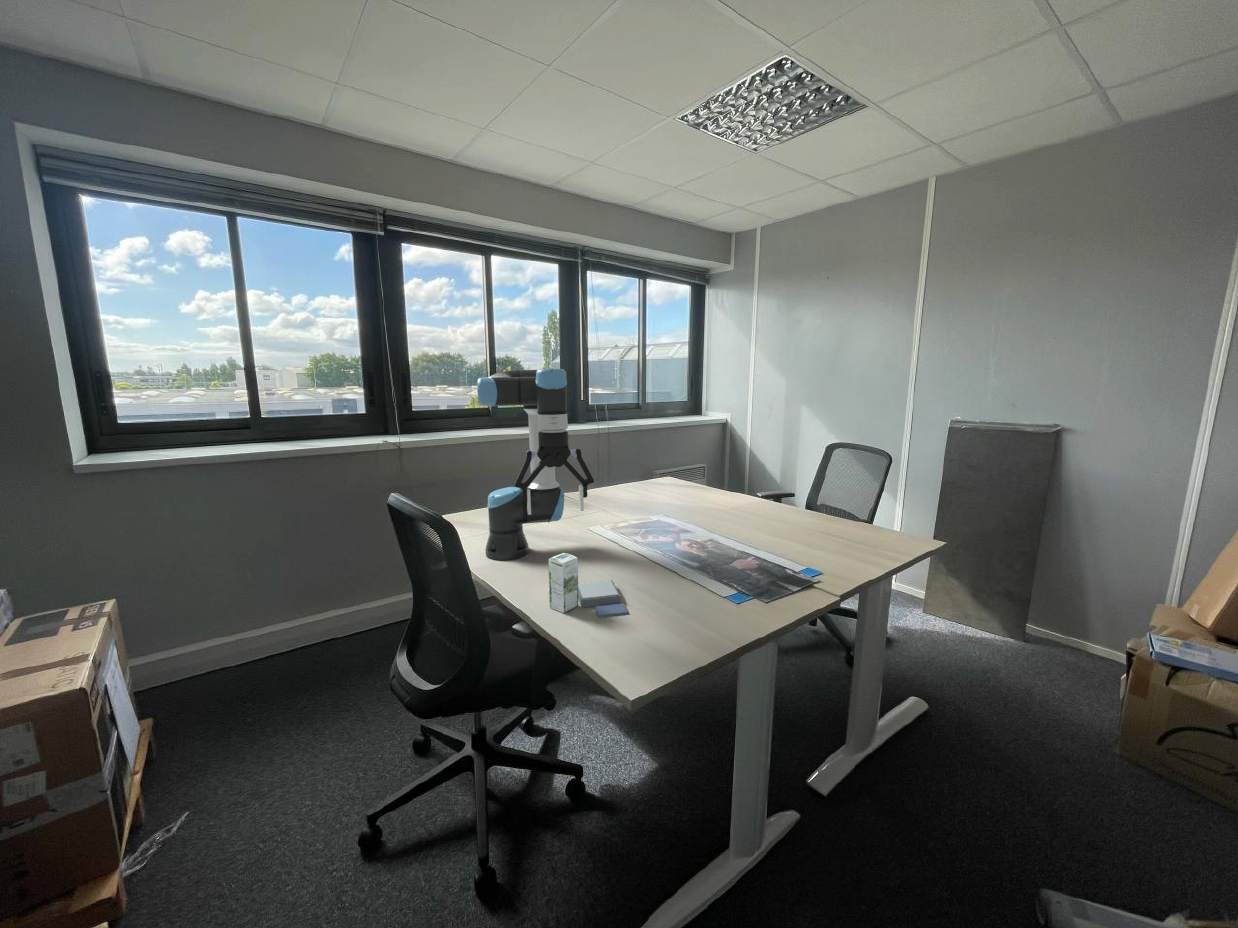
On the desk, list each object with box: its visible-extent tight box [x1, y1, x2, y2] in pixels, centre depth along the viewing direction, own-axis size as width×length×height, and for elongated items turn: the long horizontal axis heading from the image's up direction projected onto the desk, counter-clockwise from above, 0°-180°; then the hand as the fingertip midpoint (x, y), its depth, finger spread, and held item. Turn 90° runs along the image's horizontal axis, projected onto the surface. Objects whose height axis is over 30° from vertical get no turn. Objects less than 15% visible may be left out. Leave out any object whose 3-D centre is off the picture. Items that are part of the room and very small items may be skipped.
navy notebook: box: [594, 602, 629, 618], centre depth 130 cm, size 5×8×1 cm, turn 103°
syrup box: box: [548, 552, 579, 614], centre depth 132 cm, size 6×6×14 cm
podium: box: [578, 579, 622, 608], centre depth 139 cm, size 11×11×2 cm
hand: (555, 511), depth 127 cm, fingers open, 13 cm apart
